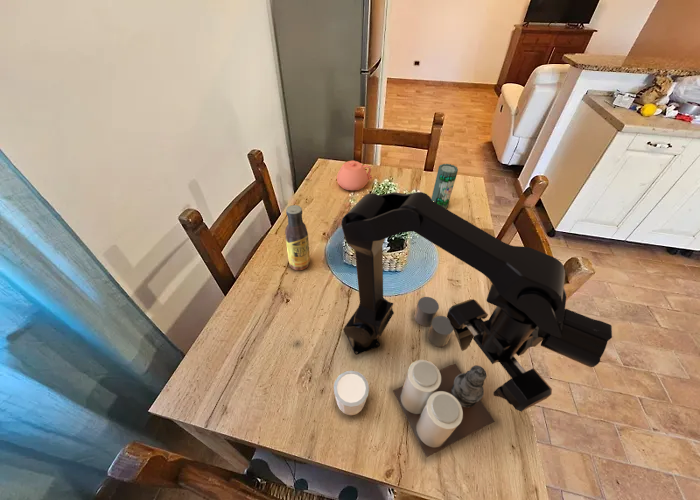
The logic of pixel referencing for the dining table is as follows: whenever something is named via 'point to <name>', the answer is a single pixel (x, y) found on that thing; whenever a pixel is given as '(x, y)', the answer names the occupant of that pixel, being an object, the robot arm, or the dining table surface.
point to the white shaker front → (439, 419)
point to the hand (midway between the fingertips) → (478, 370)
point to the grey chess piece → (469, 386)
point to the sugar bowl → (353, 175)
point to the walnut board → (472, 416)
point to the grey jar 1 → (426, 311)
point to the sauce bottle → (297, 239)
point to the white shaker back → (419, 385)
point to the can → (444, 184)
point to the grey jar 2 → (439, 331)
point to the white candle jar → (351, 392)
